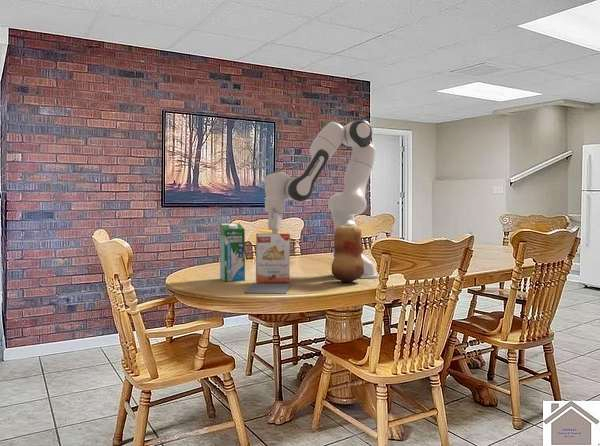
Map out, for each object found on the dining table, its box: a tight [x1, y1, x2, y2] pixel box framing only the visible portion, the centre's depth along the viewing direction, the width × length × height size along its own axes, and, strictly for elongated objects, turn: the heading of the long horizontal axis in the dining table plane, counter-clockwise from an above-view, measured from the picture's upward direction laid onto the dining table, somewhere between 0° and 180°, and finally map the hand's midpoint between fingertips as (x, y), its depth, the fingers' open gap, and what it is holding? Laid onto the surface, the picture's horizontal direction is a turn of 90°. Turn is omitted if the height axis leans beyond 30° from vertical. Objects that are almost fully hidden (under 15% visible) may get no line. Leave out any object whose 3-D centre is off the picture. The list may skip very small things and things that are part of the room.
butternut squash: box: [331, 224, 364, 283], centre depth 212 cm, size 14×13×25 cm
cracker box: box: [255, 232, 291, 283], centre depth 212 cm, size 14×6×21 cm, turn 101°
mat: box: [243, 282, 291, 295], centre depth 198 cm, size 16×21×1 cm
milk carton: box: [219, 222, 246, 282], centre depth 220 cm, size 9×9×25 cm
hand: (275, 238), depth 220 cm, fingers closed
